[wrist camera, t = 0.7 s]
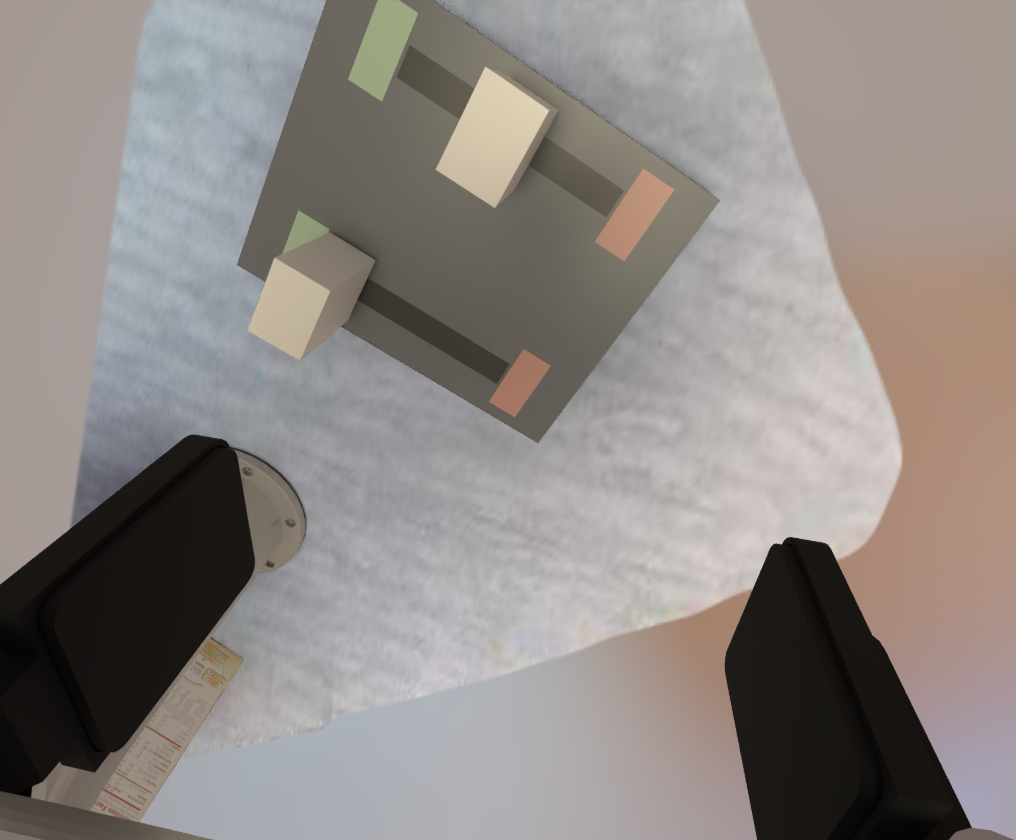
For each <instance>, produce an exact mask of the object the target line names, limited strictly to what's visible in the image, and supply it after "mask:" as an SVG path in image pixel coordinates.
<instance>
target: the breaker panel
mask: <svg viewBox="0 0 1016 840" xmlns="http://www.w3.org/2000/svg"><path fill="white" fill-rule="evenodd" d="M485 66H486V67H488V68H491V69H493V70H496V71H498V72H501V73H503V74H506V75H508V76H510V77H511V78H513V79H514V80H516V81H517V82H518V83H520V84H521V85H523V86H524V87H526V88H527V89H529V90H530V91H532V92H533V93H534V94H536V95H537V96H539V97H540V98H542V99H543V100H545V101H546V102H547V103H549V104H550V105H552V106H553V107H555V108H556V109H558V110H559V111H558V113H557V115H556V117H555V118H554V120H553V122H552V124H551V126H550V127H549V129H548V131H547V133H546V134H545V136H544V138H543V140H542V142H541V143H540V145H539V147H538V149H537V151H536V152H535V154H534V156H533V158H532V159H531V161H530V163H529V165H528V167H527V168H526V170H525V172H524V174H523V175H522V177H521V179H520V181H519V183H518V184H517V186H516V188H515V190H514V191H513V192H512V193H511V194H510V195H509V196H508V197H507V198H506V199H504V200H503V201H502V202H501V203H500V204H499V205H498V206H497V207H496V208H494V207H492V206H491V205H489V204H488V203H486V202H485V201H483V200H482V199H480V198H479V197H477V196H475V195H474V194H472V193H471V192H469V191H468V190H466V189H465V188H463V187H462V186H460V185H459V184H457V183H455V182H454V181H452V180H451V179H449V178H448V177H446V176H445V175H443V174H442V173H440V172H439V171H437V170H436V168H437V166H438V164H439V162H440V160H441V158H442V155H443V153H444V151H445V149H446V147H447V145H448V143H449V141H450V139H451V137H452V135H453V133H454V131H455V129H456V126H457V124H458V122H459V120H460V118H461V116H462V114H463V112H464V110H465V108H466V106H467V104H468V102H469V100H470V97H471V95H472V93H473V91H474V89H475V87H476V85H477V83H478V81H479V79H480V77H481V75H482V73H483V70H484V68H485ZM719 201H720V200H719V199H717V198H716V197H715V196H713V195H712V194H710V193H709V192H708V191H706V190H705V189H703V188H702V187H700V186H699V185H698V184H696V183H695V182H693V181H692V180H690V179H689V178H688V177H686V176H685V175H683V174H682V173H680V172H679V171H677V170H676V169H675V168H673V167H672V166H670V165H669V164H667V163H666V162H665V161H663V160H662V159H660V158H659V157H657V156H656V155H654V154H653V153H652V152H650V151H649V150H647V149H646V148H644V147H643V146H642V145H640V144H639V143H637V142H636V141H634V140H633V139H631V138H630V137H629V136H627V135H626V134H624V133H623V132H621V131H620V130H619V129H617V128H616V127H614V126H613V125H611V124H610V123H608V122H607V121H606V120H604V119H603V118H601V117H600V116H598V115H597V114H596V113H594V112H593V111H591V110H590V109H588V108H587V107H585V106H584V105H583V104H581V103H580V102H578V101H577V100H575V99H574V98H573V97H571V96H570V95H568V94H567V93H565V92H564V91H562V90H561V89H560V88H558V87H557V86H555V85H554V84H552V83H551V82H550V81H548V80H547V79H545V78H544V77H542V76H541V75H539V74H538V73H537V72H535V71H534V70H532V69H531V68H529V67H528V66H527V65H525V64H524V63H522V62H521V61H519V60H518V59H516V58H515V57H514V56H512V55H511V54H509V53H508V52H506V51H505V50H504V49H502V48H501V47H499V46H498V45H496V44H495V43H493V42H492V41H491V40H489V39H488V38H486V37H485V36H483V35H482V34H481V33H479V32H478V31H476V30H475V29H473V28H472V27H470V26H469V25H468V24H466V23H465V22H463V21H462V20H460V19H459V18H458V17H456V16H455V15H453V14H452V13H450V12H449V11H447V10H446V9H445V8H443V7H442V6H440V5H439V4H437V3H436V2H435V1H433V0H326V3H325V6H324V9H323V12H322V15H321V18H320V21H319V24H318V26H317V29H316V32H315V35H314V38H313V41H312V44H311V47H310V50H309V53H308V56H307V59H306V62H305V65H304V68H303V71H302V74H301V77H300V80H299V83H298V86H297V89H296V92H295V95H294V98H293V101H292V104H291V106H290V109H289V112H288V115H287V118H286V121H285V124H284V127H283V130H282V133H281V136H280V139H279V142H278V145H277V148H276V151H275V154H274V157H273V160H272V163H271V166H270V169H269V172H268V175H267V178H266V181H265V184H264V186H263V189H262V192H261V195H260V198H259V201H258V204H257V207H256V210H255V213H254V216H253V219H252V222H251V225H250V228H249V231H248V234H247V237H246V240H245V243H244V246H243V249H242V252H241V255H240V258H239V261H238V263H237V265H238V266H240V267H241V268H243V269H245V270H246V271H248V272H250V273H252V274H253V275H255V276H257V277H258V278H260V279H262V280H263V281H265V282H266V279H267V276H268V274H269V271H270V268H271V266H272V263H273V260H274V258H275V257H277V256H279V255H281V254H283V253H286V252H288V251H290V250H292V249H294V248H297V247H299V246H301V245H303V244H305V243H308V242H310V241H312V240H314V239H316V238H319V237H321V236H323V235H325V234H327V233H332V234H334V235H335V236H337V237H338V238H340V239H342V240H343V241H345V242H347V243H348V244H350V245H351V246H353V247H355V248H356V249H358V250H360V251H361V252H363V253H365V254H366V255H368V256H369V257H371V258H373V259H374V260H376V261H375V263H374V265H373V267H372V270H371V272H370V274H369V276H368V278H367V280H366V282H365V284H364V287H363V289H362V291H361V293H360V295H359V297H358V299H357V302H356V304H355V306H354V308H353V310H352V312H351V314H350V317H349V319H348V321H347V322H345V323H344V324H343V325H342V326H341V327H343V328H344V329H346V330H348V331H350V332H351V333H353V334H355V335H356V336H358V337H360V338H361V339H363V340H365V341H366V342H368V343H370V344H372V345H373V346H375V347H377V348H378V349H380V350H382V351H383V352H385V353H387V354H388V355H390V356H392V357H394V358H395V359H397V360H399V361H400V362H402V363H404V364H405V365H407V366H409V367H410V368H412V369H414V370H415V371H417V372H419V373H421V374H422V375H424V376H426V377H427V378H429V379H431V380H432V381H434V382H436V383H437V384H439V385H441V386H443V387H444V388H446V389H448V390H449V391H451V392H453V393H454V394H456V395H458V396H459V397H461V398H463V399H464V400H466V401H468V402H470V403H471V404H473V405H475V406H476V407H478V408H480V409H481V410H483V411H485V412H486V413H488V414H490V415H492V416H493V417H495V418H497V419H498V420H500V421H502V422H503V423H505V424H507V425H508V426H510V427H512V428H513V429H515V430H517V431H519V432H520V433H522V434H524V435H525V436H527V437H529V438H530V439H532V440H534V441H535V442H537V443H538V442H539V441H540V440H541V438H542V437H543V436H544V434H545V433H546V432H547V430H548V429H549V428H550V426H551V425H552V424H553V422H554V421H555V420H556V418H557V417H558V416H559V414H560V413H561V412H562V410H563V409H564V408H565V406H566V405H567V404H568V402H569V401H570V400H571V398H572V397H573V396H574V394H575V393H576V392H577V390H578V389H579V388H580V386H581V385H582V384H583V382H584V381H585V380H586V378H587V377H588V376H589V374H590V373H591V372H592V370H593V369H594V368H595V366H596V365H597V364H598V362H599V361H600V360H601V358H602V357H603V356H604V354H605V353H606V352H607V350H608V349H609V348H610V346H611V345H612V344H613V342H614V341H615V340H616V338H617V337H618V336H619V334H620V333H621V332H622V330H623V329H624V328H625V326H626V325H627V324H628V322H629V321H630V320H631V318H632V317H633V316H634V314H635V313H636V312H637V310H638V309H639V308H640V306H641V305H642V304H643V302H644V301H645V300H646V298H647V297H648V296H649V294H650V293H651V292H652V290H653V289H654V288H655V286H656V285H657V284H658V282H659V281H660V280H661V278H662V277H663V276H664V274H665V273H666V272H667V270H668V269H669V268H670V266H671V265H672V264H673V262H674V261H675V260H676V258H677V257H678V256H679V254H680V253H681V252H682V250H683V249H684V248H685V246H686V245H687V244H688V242H689V241H690V240H691V238H692V237H693V236H694V234H695V233H696V232H697V230H698V229H699V228H700V226H701V225H702V224H703V222H704V221H705V220H706V218H707V217H708V216H709V214H710V213H711V212H712V210H713V209H714V208H715V206H716V205H717V204H718V202H719Z"/></svg>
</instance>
